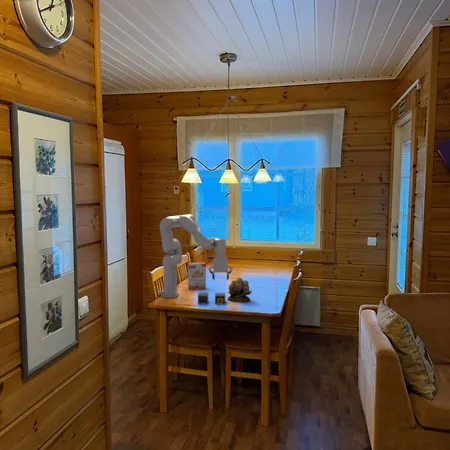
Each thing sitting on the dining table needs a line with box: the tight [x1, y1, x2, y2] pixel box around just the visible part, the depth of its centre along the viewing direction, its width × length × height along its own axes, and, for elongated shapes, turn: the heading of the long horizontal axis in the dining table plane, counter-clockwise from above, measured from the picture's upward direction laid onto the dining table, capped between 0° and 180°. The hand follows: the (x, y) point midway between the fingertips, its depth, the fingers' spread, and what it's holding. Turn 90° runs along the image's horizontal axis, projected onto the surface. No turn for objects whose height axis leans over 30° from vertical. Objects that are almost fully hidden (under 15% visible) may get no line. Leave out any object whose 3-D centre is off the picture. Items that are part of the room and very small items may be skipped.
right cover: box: [214, 292, 226, 305], centre depth 292 cm, size 7×7×6 cm
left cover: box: [197, 292, 209, 305], centre depth 292 cm, size 7×7×6 cm
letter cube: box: [216, 297, 224, 305], centre depth 291 cm, size 4×4×4 cm
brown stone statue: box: [227, 276, 253, 303], centre depth 298 cm, size 18×12×17 cm, turn 75°
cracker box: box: [187, 261, 207, 290], centre depth 330 cm, size 14×6×21 cm, turn 101°
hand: (220, 279), depth 290 cm, fingers open, 9 cm apart
